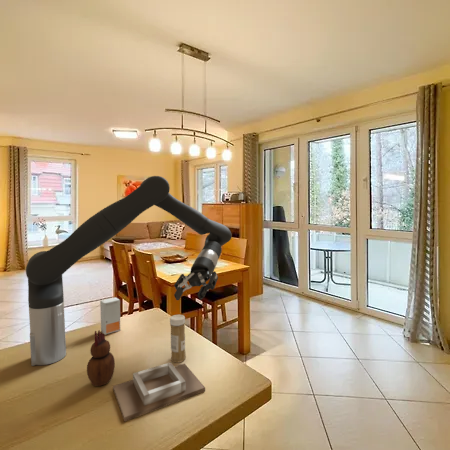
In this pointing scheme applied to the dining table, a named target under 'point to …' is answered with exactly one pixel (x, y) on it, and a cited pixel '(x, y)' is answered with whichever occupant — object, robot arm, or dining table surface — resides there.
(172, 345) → the sprinkles bottle
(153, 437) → the dining table surface
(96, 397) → the dining table surface
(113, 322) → the skincare box
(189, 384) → the board
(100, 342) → the wooden figurine
